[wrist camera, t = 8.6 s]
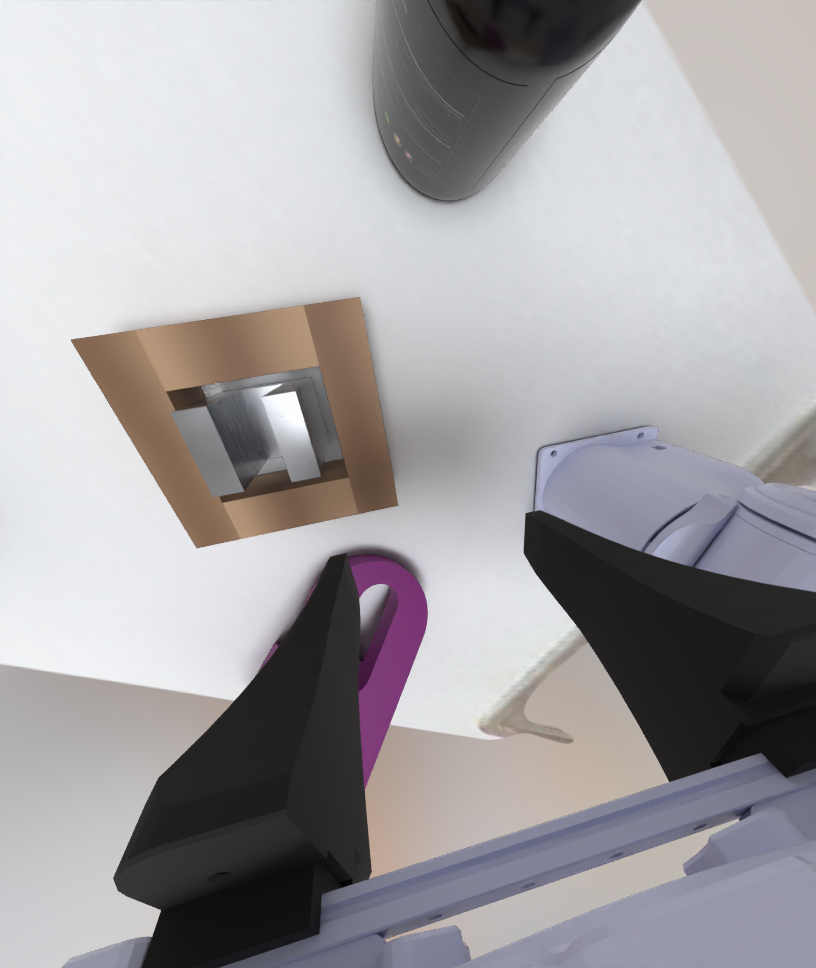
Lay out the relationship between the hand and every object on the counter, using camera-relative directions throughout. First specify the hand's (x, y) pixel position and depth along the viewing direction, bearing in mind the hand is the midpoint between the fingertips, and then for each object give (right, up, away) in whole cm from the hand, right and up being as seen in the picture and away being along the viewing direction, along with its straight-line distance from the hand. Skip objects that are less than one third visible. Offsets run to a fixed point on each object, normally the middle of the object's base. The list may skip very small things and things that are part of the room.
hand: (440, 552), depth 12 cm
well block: (-9, +6, +6) cm, 13 cm away
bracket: (-9, +7, +6) cm, 13 cm away
